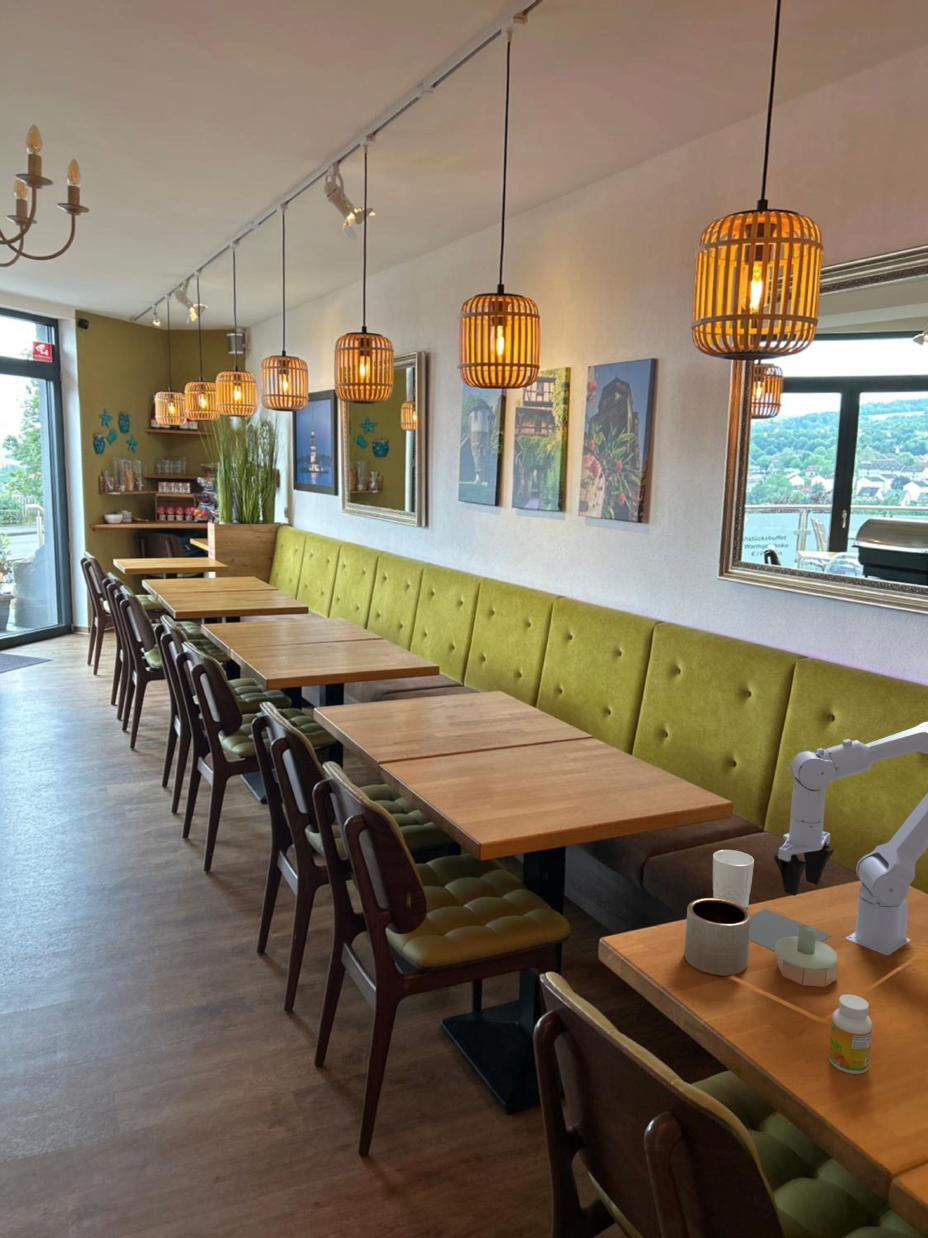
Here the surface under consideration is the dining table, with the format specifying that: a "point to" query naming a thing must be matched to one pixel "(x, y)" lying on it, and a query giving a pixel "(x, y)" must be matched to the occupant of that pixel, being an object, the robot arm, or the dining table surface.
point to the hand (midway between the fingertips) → (801, 888)
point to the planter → (717, 936)
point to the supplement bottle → (851, 1035)
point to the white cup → (732, 876)
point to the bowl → (807, 974)
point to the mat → (775, 928)
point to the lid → (806, 950)
